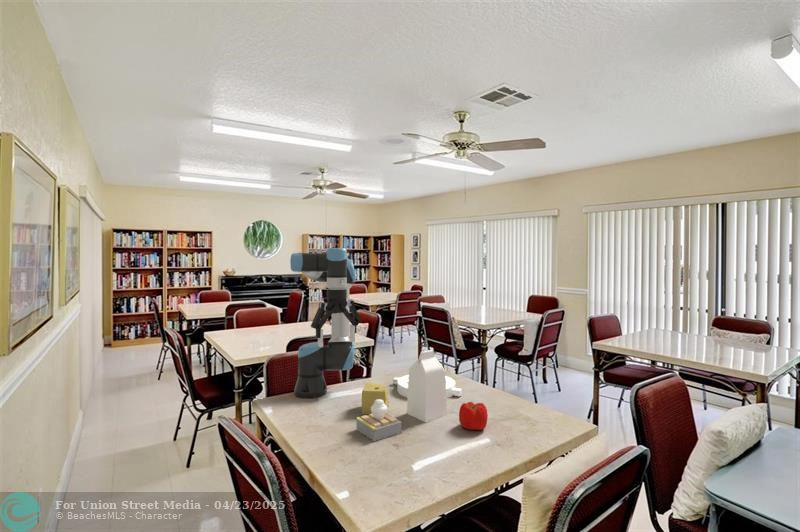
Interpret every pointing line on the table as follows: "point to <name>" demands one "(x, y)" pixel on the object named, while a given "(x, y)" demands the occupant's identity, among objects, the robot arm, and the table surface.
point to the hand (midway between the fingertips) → (336, 344)
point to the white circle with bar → (403, 386)
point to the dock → (378, 426)
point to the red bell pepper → (473, 416)
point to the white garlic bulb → (379, 409)
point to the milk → (427, 388)
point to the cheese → (373, 396)
